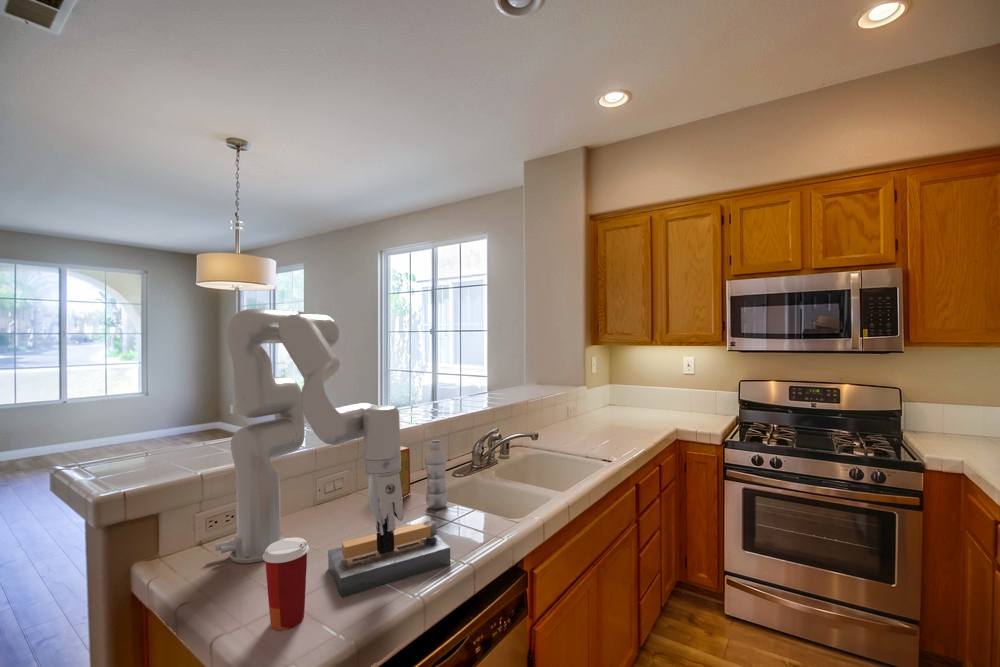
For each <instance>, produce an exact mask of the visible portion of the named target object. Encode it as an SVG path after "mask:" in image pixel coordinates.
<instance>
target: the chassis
mask: <svg viewBox="0 0 1000 667" xmlns="http://www.w3.org/2000/svg"><path fill="white" fill-rule="evenodd" d="M327 563H328V564H327V565H328V566H327V567H328V570H329V573H330V575H331V577H332V580H333V582H334V584H335V587H336V589H337V591H338V594H339V596H340V599H344V598H346V597H347V598H348V597H351V596H353V595H357V594H359V593H363V592H366V591H371V590H373V589H377V588H380V587H383V586H386V585H390V584H393V583H396V582H400V581H402V580H403V581H404V580H405V579H409V578H412V577H416V576H418V575H421V574H422V575H423V574H425V573H428V572H429V573H430V572H432V571H434V570H438V569H441V568H444V567H447V566H451V547H450V545H448V544H447V543H446V542H445V541H444V540H443V539H442V538H441V537H440V536H439V535H438V533H437V534H436V535H435V536H432V537H427V538H424V539H420V540H416V541H412V542H408V543H405V544H401V545H397V546H394V551H392V552H388V553H384V554H379V552H378V551H374V552H371V553H367V554H363V555H359V556H356V557H352V558H348V559H345V558H344V556H343V554H342V546H341V547H337V548H332V549H329V550H328V551H327ZM389 583H390V584H389ZM382 585H383V586H382ZM379 586H380V587H379ZM376 587H377V588H376Z"/></svg>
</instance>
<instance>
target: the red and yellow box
mask: <svg viewBox="0 0 1000 667" xmlns="http://www.w3.org/2000/svg"><path fill="white" fill-rule="evenodd" d="M400 451H401V471H400V472H399V476H400V481H401V489H402V497H404V496H406V495H408V494H409V493H410V494H411V460H410V459H411V454H410V453H411V452H410V447H406V446H402V445H400Z"/></svg>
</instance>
